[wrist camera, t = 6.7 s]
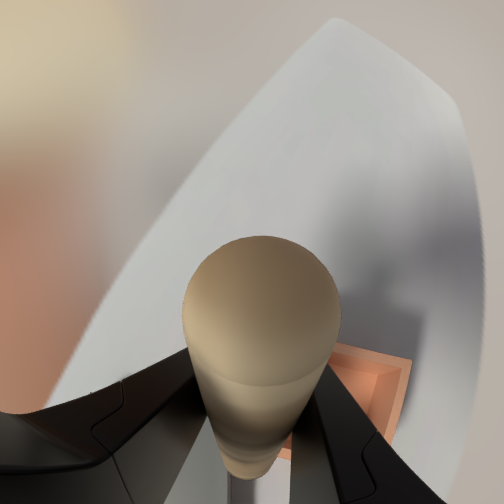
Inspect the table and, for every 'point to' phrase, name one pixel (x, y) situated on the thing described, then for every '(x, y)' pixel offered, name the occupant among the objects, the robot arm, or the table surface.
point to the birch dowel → (259, 343)
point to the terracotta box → (370, 386)
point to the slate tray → (202, 474)
